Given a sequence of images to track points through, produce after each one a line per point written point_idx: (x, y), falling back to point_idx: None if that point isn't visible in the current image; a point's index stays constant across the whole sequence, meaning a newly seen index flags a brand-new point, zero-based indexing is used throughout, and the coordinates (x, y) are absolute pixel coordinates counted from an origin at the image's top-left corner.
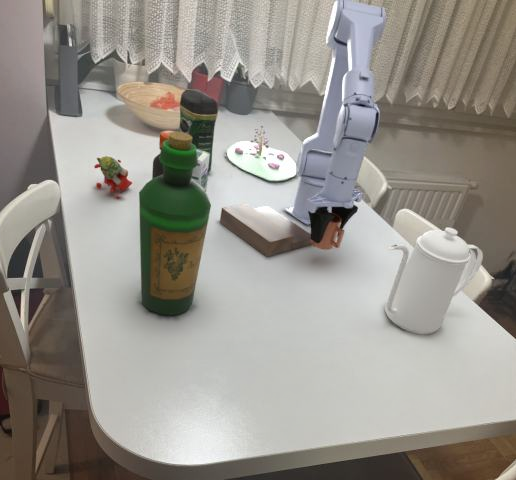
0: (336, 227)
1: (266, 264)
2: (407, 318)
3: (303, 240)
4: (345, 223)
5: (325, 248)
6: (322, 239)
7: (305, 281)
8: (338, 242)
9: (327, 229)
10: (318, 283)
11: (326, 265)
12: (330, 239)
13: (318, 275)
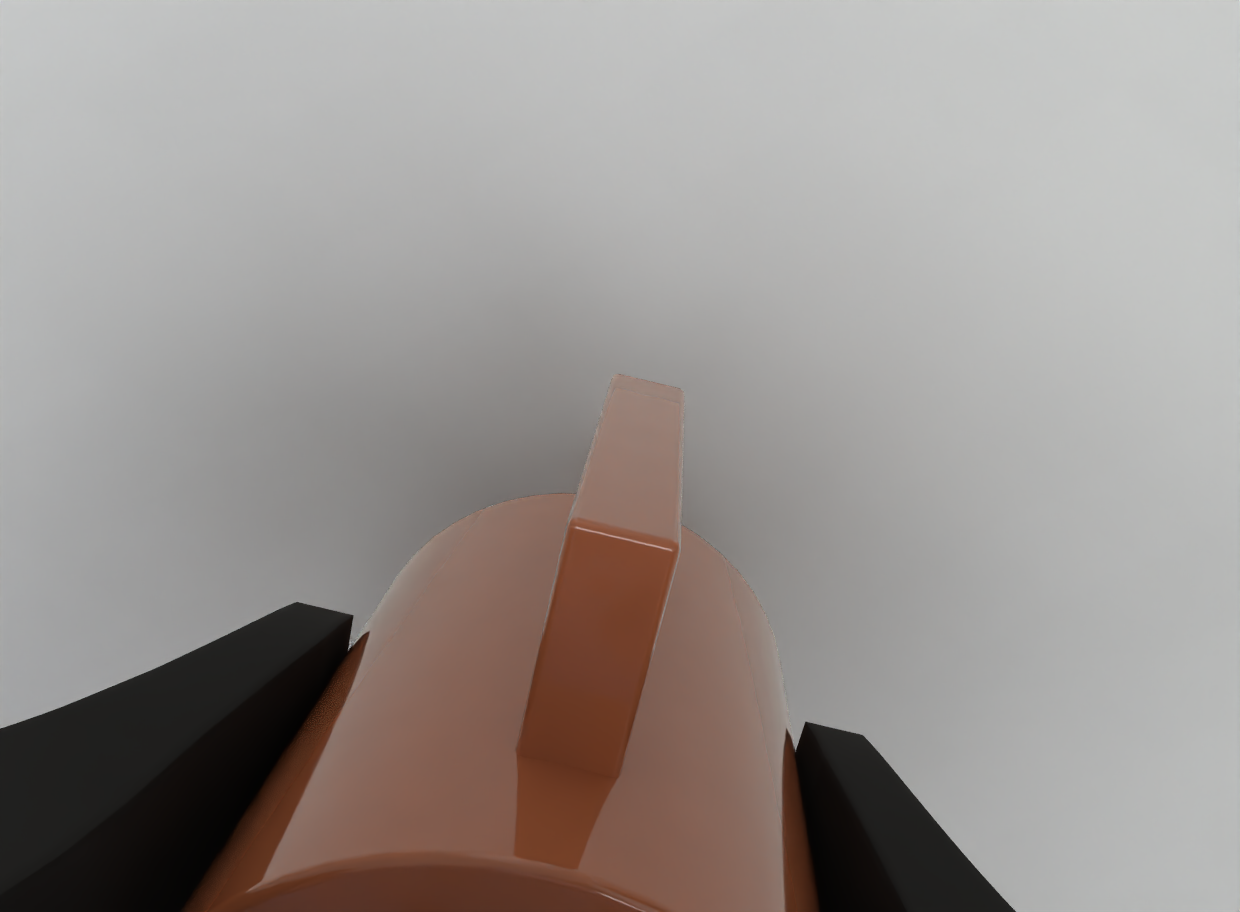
0: (606, 779)
1: (1184, 903)
2: None
3: None
4: (63, 727)
5: (732, 569)
6: (790, 741)
7: (1196, 400)
8: (681, 442)
9: (804, 879)
10: (1105, 250)
11: (561, 417)
12: (694, 630)
13: (902, 359)
